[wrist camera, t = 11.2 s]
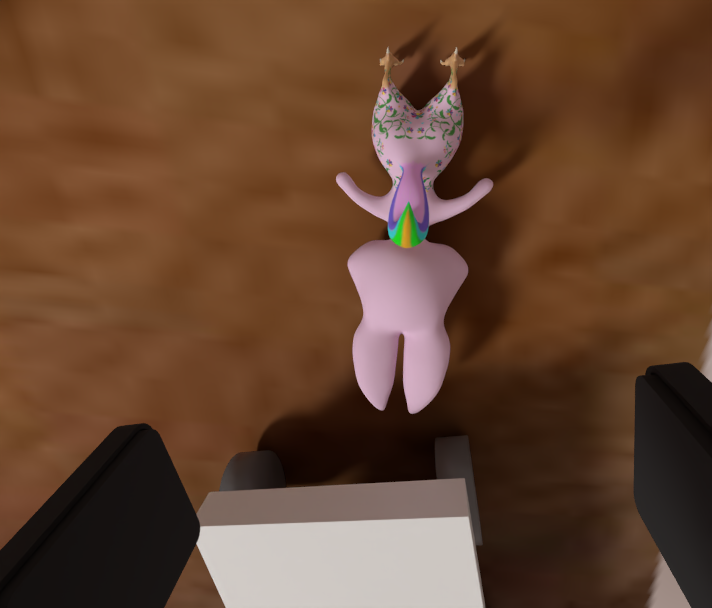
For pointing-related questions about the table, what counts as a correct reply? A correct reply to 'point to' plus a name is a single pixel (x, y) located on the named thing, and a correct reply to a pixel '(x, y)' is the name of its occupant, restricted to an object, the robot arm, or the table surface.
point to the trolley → (344, 538)
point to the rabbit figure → (409, 244)
